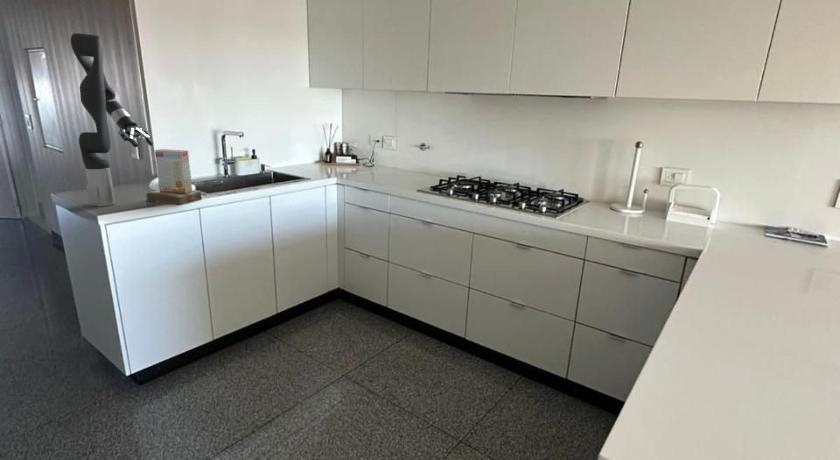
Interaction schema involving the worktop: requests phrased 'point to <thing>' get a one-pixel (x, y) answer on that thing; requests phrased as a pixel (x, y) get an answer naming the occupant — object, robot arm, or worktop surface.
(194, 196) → the podium
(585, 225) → the worktop surface
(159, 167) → the cracker box
